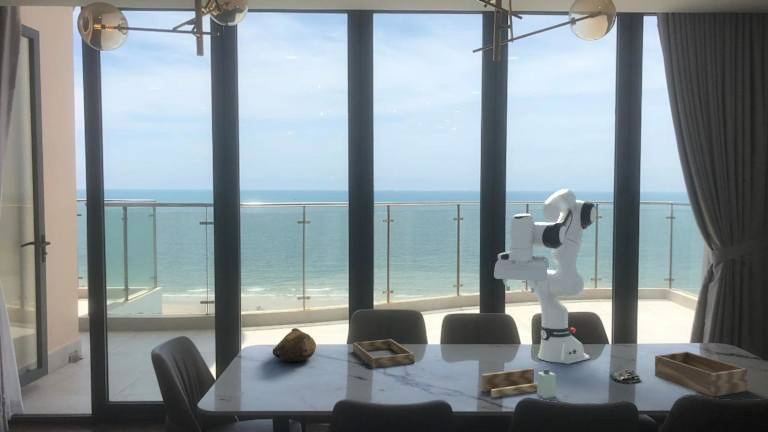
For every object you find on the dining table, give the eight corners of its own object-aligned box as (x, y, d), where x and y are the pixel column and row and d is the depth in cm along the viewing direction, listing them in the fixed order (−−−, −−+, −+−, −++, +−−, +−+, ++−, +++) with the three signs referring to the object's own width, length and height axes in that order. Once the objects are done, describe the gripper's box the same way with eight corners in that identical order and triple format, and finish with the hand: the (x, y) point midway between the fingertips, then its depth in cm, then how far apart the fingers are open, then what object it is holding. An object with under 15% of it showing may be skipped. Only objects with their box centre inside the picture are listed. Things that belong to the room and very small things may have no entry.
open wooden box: (686, 370, 234) (686, 351, 234) (746, 390, 210) (747, 369, 210) (654, 375, 228) (655, 355, 228) (713, 396, 204) (713, 374, 204)
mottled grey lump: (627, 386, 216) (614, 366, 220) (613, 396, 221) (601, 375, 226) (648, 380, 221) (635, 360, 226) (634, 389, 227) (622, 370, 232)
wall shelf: (531, 383, 219) (531, 367, 219) (544, 389, 212) (544, 373, 211) (481, 390, 211) (481, 374, 211) (492, 397, 204) (493, 380, 203)
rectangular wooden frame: (391, 347, 272) (391, 339, 272) (414, 362, 247) (414, 353, 246) (353, 351, 265) (353, 343, 265) (373, 367, 240) (373, 358, 240)
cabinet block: (548, 392, 208) (548, 367, 208) (555, 396, 205) (555, 370, 204) (537, 394, 207) (537, 368, 206) (543, 398, 203) (544, 371, 203)
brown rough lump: (306, 372, 233) (306, 336, 233) (262, 371, 235) (262, 335, 235) (324, 348, 270) (323, 317, 270) (286, 347, 272) (286, 316, 271)
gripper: (549, 256, 220) (548, 292, 221) (495, 254, 226) (494, 288, 226) (549, 257, 214) (548, 294, 215) (493, 255, 220) (493, 291, 220)
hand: (520, 291), depth 221 cm, fingers open, 8 cm apart
